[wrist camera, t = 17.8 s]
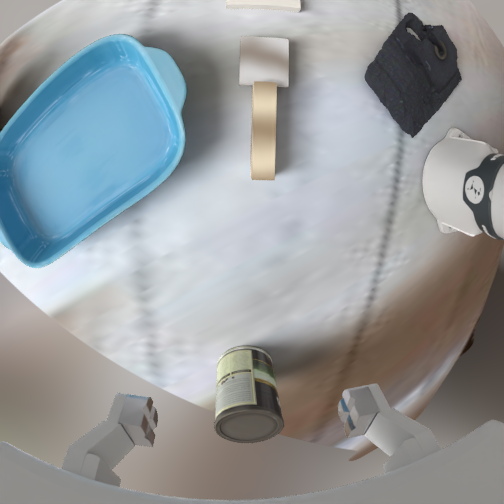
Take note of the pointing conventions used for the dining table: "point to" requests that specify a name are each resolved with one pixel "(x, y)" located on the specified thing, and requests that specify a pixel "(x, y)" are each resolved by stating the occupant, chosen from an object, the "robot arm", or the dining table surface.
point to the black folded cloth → (414, 73)
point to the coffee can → (247, 396)
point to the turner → (263, 96)
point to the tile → (265, 5)
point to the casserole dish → (89, 146)
